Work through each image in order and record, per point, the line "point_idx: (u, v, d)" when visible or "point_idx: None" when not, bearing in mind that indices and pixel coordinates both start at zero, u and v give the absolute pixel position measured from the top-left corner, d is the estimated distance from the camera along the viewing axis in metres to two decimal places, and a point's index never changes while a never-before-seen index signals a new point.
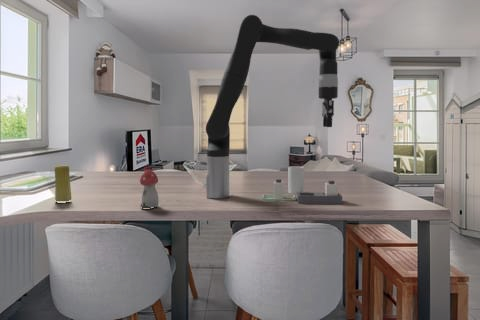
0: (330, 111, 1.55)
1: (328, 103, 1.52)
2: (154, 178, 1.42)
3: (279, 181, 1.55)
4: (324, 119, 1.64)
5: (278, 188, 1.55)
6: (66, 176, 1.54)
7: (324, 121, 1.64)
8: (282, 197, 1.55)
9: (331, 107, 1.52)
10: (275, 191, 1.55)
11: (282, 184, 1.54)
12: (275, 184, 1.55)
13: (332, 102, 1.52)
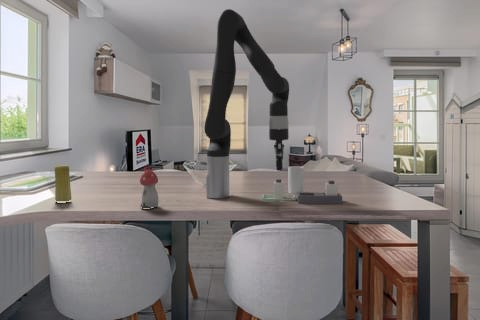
0: (280, 154, 1.51)
1: (277, 146, 1.48)
2: (154, 178, 1.42)
3: (279, 181, 1.55)
4: (277, 160, 1.60)
5: (278, 188, 1.55)
6: (66, 176, 1.54)
7: (277, 162, 1.60)
8: (282, 197, 1.55)
9: (280, 151, 1.48)
10: (275, 191, 1.55)
11: (282, 184, 1.54)
12: (275, 184, 1.55)
13: (281, 145, 1.48)
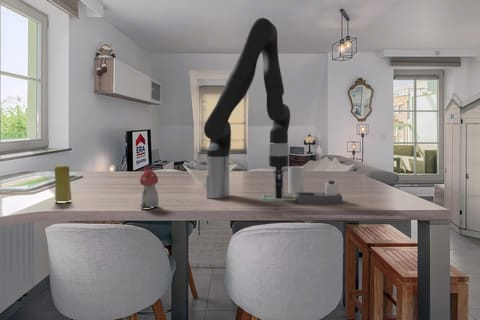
0: None
1: (277, 177, 1.50)
2: (154, 178, 1.42)
3: None
4: None
5: None
6: (66, 176, 1.54)
7: None
8: (282, 197, 1.55)
9: (279, 181, 1.50)
10: (275, 191, 1.55)
11: (282, 184, 1.54)
12: (275, 184, 1.55)
13: (281, 177, 1.50)
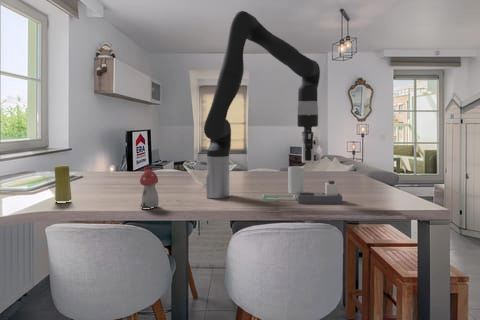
0: (309, 143, 1.45)
1: (307, 137, 1.41)
2: (154, 178, 1.42)
3: None
4: None
5: None
6: (66, 176, 1.54)
7: None
8: (312, 159, 1.46)
9: (310, 141, 1.41)
10: (304, 153, 1.46)
11: None
12: (304, 145, 1.46)
13: (311, 136, 1.41)
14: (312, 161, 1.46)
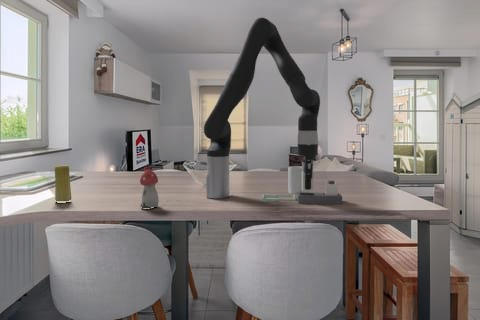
0: (309, 172, 1.46)
1: (307, 167, 1.42)
2: (154, 178, 1.42)
3: None
4: None
5: None
6: (66, 176, 1.54)
7: None
8: (312, 188, 1.47)
9: (310, 171, 1.42)
10: (304, 182, 1.47)
11: (312, 174, 1.46)
12: (304, 174, 1.46)
13: (311, 166, 1.41)
14: (312, 190, 1.47)
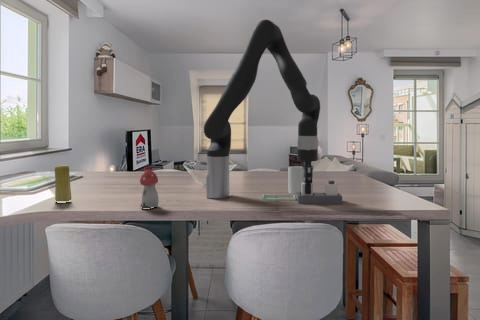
0: (309, 177, 1.45)
1: (306, 171, 1.42)
2: (154, 178, 1.42)
3: None
4: None
5: None
6: (66, 176, 1.54)
7: None
8: None
9: (309, 175, 1.42)
10: (304, 193, 1.47)
11: (311, 185, 1.47)
12: (304, 185, 1.47)
13: (311, 170, 1.41)
14: None
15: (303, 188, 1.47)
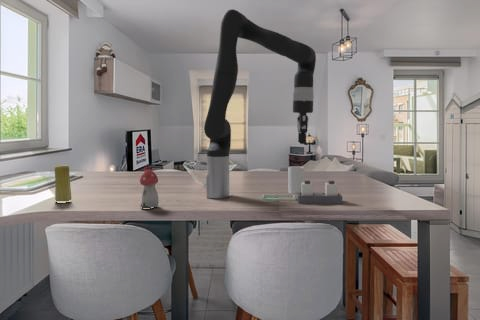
0: (304, 127, 1.45)
1: (301, 118, 1.42)
2: (154, 178, 1.42)
3: (308, 182, 1.48)
4: (299, 134, 1.53)
5: (307, 190, 1.47)
6: (66, 176, 1.54)
7: (299, 136, 1.53)
8: None
9: (304, 123, 1.42)
10: (304, 193, 1.47)
11: (311, 186, 1.47)
12: (304, 186, 1.47)
13: (306, 117, 1.42)
14: None
15: (303, 188, 1.47)
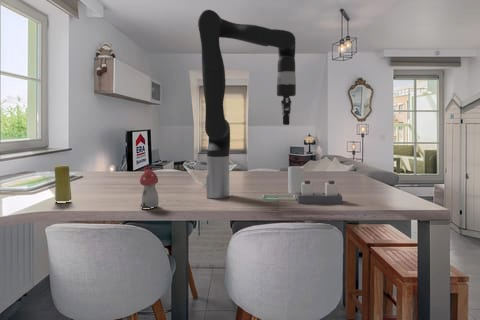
0: (287, 109, 1.54)
1: (284, 101, 1.51)
2: (154, 178, 1.42)
3: (308, 182, 1.48)
4: (284, 117, 1.63)
5: (307, 190, 1.47)
6: (66, 176, 1.54)
7: (284, 119, 1.63)
8: None
9: (287, 105, 1.51)
10: (304, 193, 1.47)
11: (311, 186, 1.47)
12: (304, 186, 1.47)
13: (288, 100, 1.51)
14: None
15: (303, 188, 1.47)
